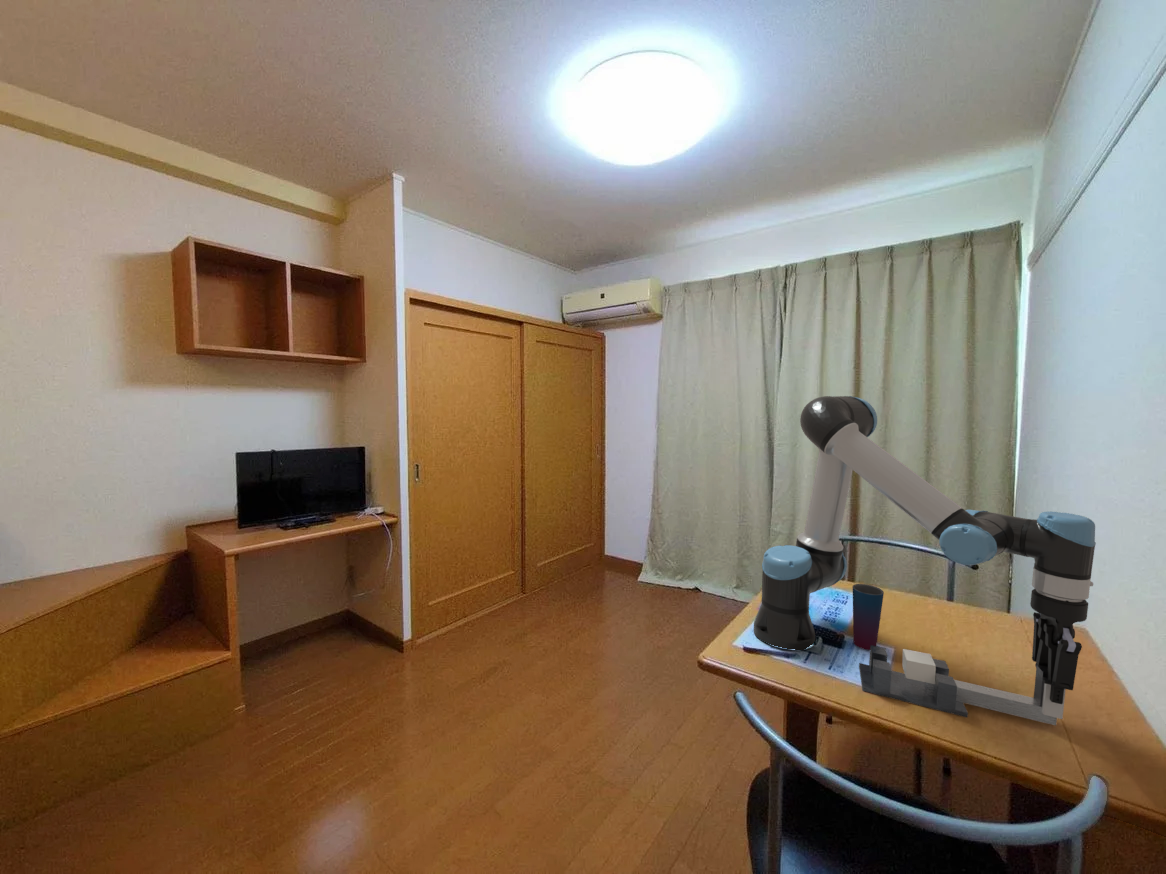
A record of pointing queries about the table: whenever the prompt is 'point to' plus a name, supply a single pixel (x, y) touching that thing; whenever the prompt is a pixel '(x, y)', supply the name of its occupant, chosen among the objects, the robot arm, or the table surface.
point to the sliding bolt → (1005, 698)
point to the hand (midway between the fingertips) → (1047, 709)
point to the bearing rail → (910, 684)
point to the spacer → (918, 666)
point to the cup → (866, 614)
